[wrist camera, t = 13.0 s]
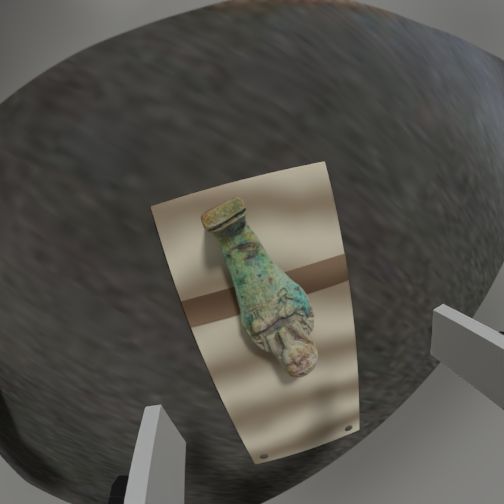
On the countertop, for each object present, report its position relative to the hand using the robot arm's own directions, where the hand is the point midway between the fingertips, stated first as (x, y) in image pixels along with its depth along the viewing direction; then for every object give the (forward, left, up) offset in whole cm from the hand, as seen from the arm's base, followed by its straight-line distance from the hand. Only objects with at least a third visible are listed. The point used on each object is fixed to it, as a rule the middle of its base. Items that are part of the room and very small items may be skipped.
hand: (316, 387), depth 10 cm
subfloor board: (-7, 0, -13) cm, 14 cm away
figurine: (+1, 0, -12) cm, 12 cm away
